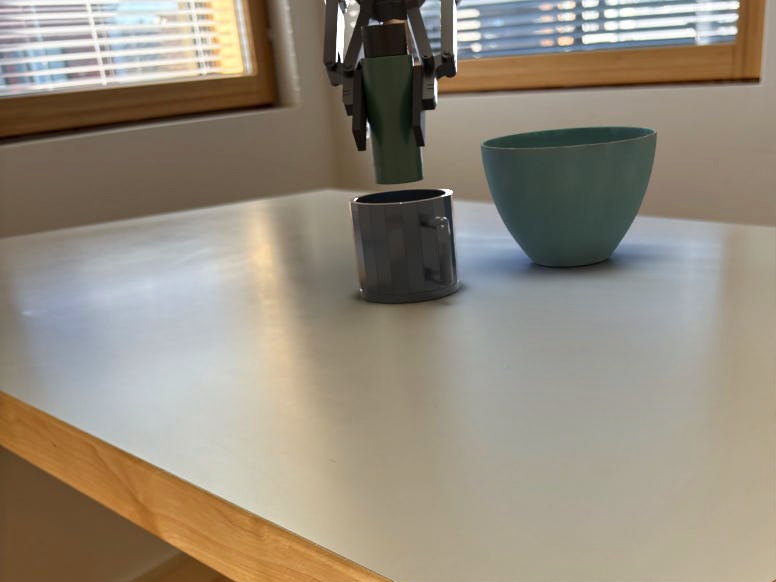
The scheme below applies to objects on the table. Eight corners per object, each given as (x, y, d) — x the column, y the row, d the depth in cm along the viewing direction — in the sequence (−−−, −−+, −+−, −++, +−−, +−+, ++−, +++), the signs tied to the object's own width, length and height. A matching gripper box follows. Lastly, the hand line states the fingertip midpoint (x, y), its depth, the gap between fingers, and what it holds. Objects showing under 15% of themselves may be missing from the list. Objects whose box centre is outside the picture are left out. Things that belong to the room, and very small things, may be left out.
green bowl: (675, 267, 106) (678, 134, 99) (499, 284, 104) (492, 151, 98) (631, 238, 121) (632, 122, 115) (478, 252, 120) (471, 136, 114)
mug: (344, 292, 106) (332, 198, 102) (429, 276, 110) (421, 185, 106) (405, 314, 96) (394, 211, 91) (496, 295, 100) (490, 196, 96)
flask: (366, 182, 100) (347, 27, 93) (409, 175, 102) (394, 23, 95) (388, 186, 96) (370, 25, 90) (432, 179, 98) (419, 21, 92)
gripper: (488, -41, 102) (489, 160, 97) (312, -25, 104) (303, 173, 98) (481, -112, 95) (482, 100, 90) (292, -94, 97) (281, 115, 91)
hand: (388, 138), depth 94 cm, fingers closed on flask, 5 cm apart
